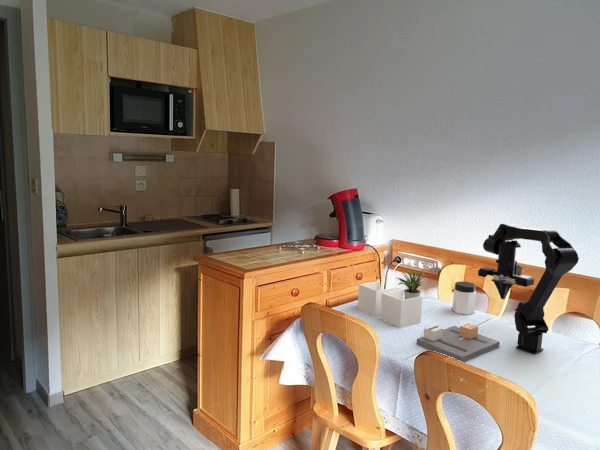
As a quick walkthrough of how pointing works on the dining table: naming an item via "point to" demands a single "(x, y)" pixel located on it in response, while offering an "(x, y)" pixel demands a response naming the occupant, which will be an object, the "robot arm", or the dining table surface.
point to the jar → (464, 298)
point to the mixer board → (459, 344)
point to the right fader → (468, 331)
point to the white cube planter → (389, 304)
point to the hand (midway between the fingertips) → (503, 299)
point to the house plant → (411, 284)
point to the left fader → (433, 332)
